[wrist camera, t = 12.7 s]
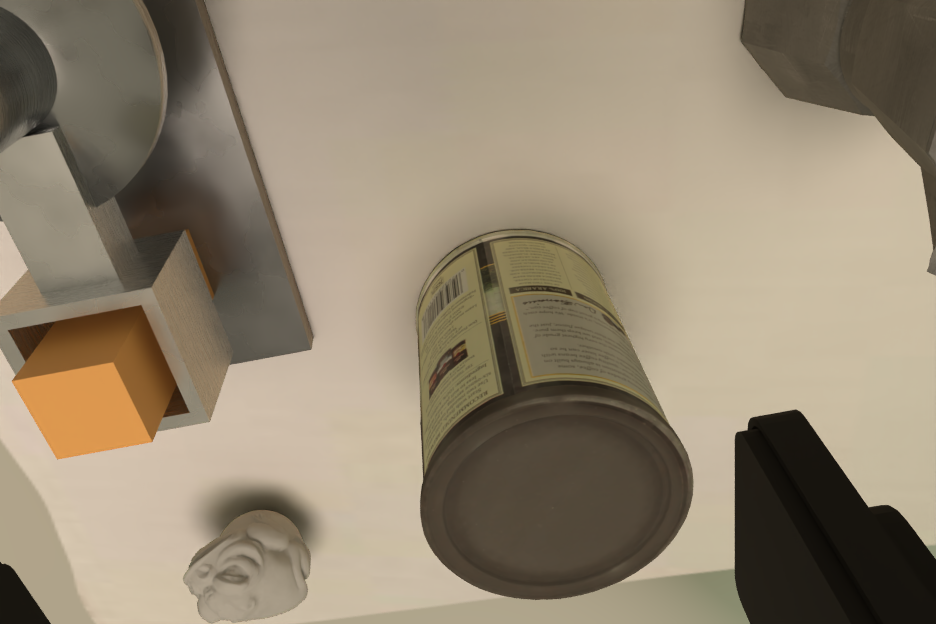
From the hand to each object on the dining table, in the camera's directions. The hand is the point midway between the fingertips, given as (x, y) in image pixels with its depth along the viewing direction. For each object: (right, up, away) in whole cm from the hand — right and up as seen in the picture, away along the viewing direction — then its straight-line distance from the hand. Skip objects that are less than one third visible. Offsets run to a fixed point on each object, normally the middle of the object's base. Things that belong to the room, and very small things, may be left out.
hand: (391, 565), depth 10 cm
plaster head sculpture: (-11, -9, +38) cm, 40 cm away
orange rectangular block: (-13, +5, +27) cm, 31 cm away
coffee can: (+3, +3, +32) cm, 32 cm away
